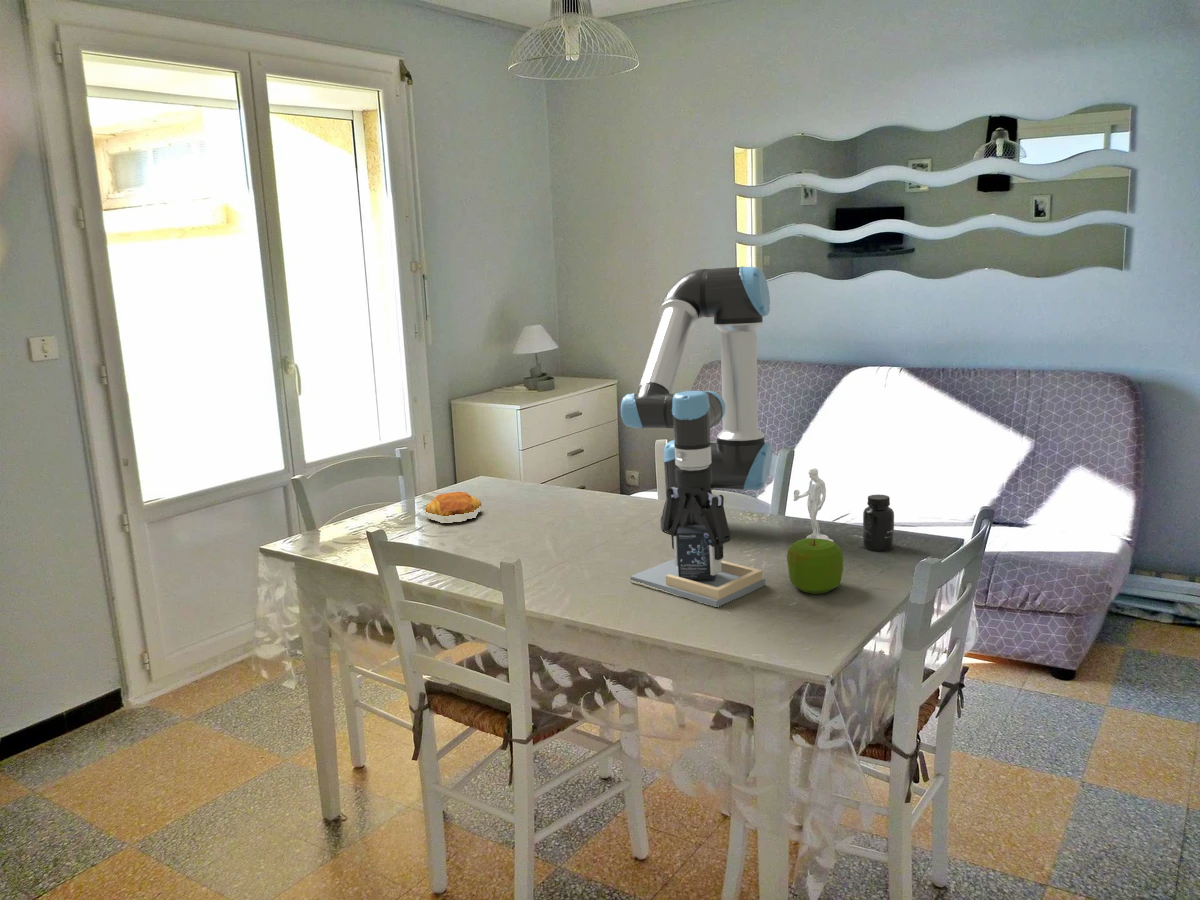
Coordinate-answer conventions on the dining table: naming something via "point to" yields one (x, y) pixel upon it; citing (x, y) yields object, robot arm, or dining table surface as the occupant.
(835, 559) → the apple
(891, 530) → the supplement bottle
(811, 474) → the figurine
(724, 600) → the dock
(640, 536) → the dining table surface
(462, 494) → the croissant
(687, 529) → the box
